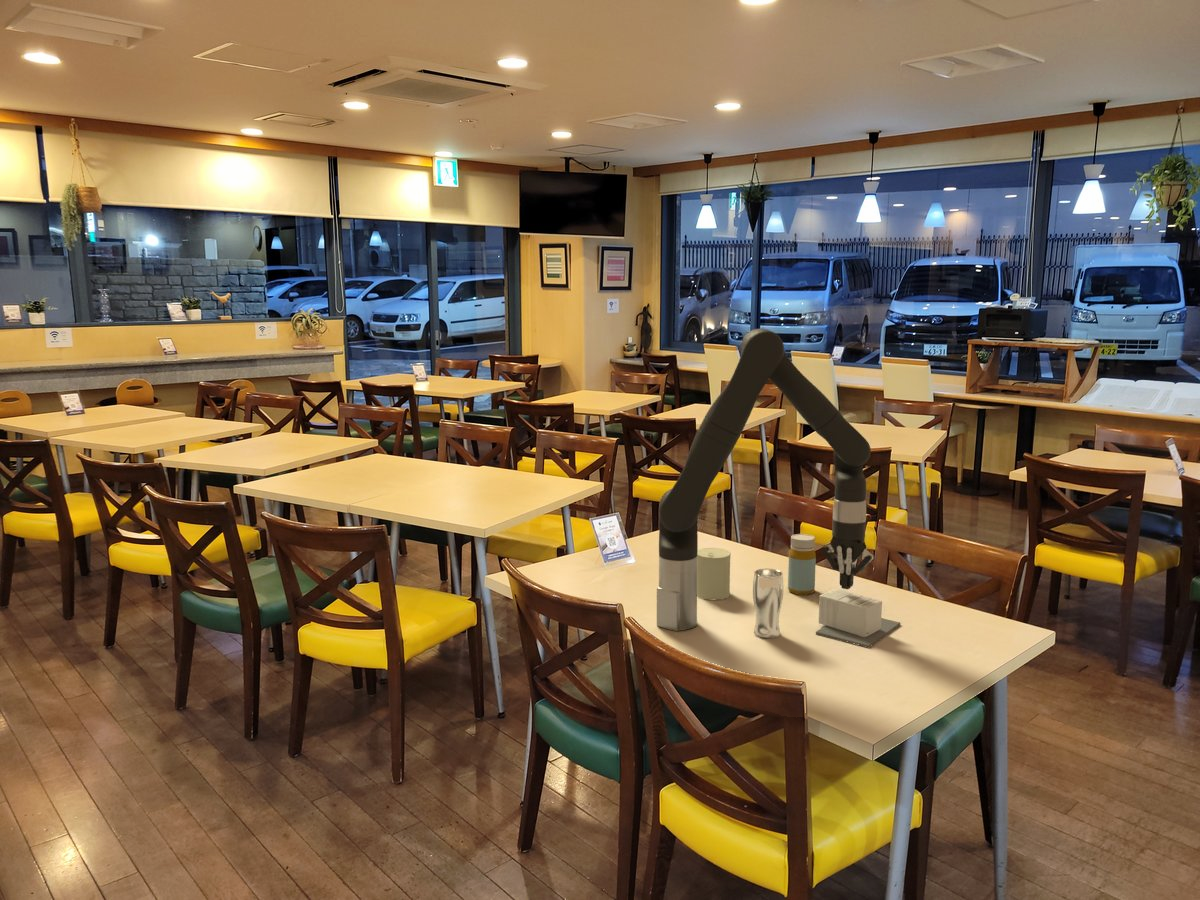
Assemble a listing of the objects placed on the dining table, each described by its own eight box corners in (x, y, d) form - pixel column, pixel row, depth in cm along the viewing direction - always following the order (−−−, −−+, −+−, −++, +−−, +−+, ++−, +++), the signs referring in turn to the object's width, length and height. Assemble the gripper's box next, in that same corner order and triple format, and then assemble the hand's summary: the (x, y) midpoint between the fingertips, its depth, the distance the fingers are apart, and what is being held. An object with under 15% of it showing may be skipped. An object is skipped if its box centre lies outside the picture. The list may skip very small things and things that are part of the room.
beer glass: (764, 641, 202) (765, 579, 199) (745, 631, 208) (747, 570, 205) (788, 636, 205) (790, 574, 202) (769, 626, 211) (770, 566, 208)
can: (691, 597, 231) (691, 554, 229) (700, 586, 239) (701, 544, 237) (725, 602, 228) (726, 557, 226) (733, 590, 236) (734, 548, 234)
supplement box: (834, 615, 215) (881, 630, 206) (817, 623, 210) (864, 638, 201) (836, 587, 214) (883, 600, 205) (818, 594, 209) (866, 608, 200)
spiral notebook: (868, 648, 197) (868, 645, 197) (815, 634, 206) (815, 631, 206) (900, 624, 211) (900, 622, 211) (849, 612, 219) (849, 610, 219)
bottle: (814, 596, 231) (816, 541, 229) (787, 594, 233) (789, 540, 230) (814, 587, 238) (815, 534, 235) (787, 586, 239) (789, 532, 237)
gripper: (815, 516, 207) (813, 586, 210) (869, 525, 199) (866, 598, 202) (830, 510, 213) (827, 578, 216) (882, 518, 204) (879, 589, 207)
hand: (846, 588), depth 209 cm, fingers closed
